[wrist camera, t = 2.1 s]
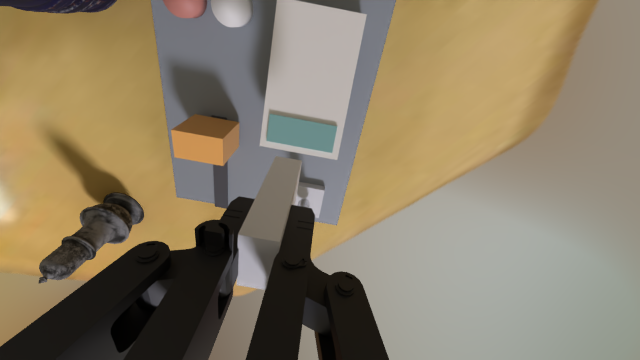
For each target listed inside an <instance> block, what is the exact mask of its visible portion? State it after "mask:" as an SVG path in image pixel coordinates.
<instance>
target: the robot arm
mask: <svg viewBox="0 0 640 360" xmlns="http://www.w3.org/2000/svg"><path fill="white" fill-rule="evenodd" d="M301 164H302V161H301V160H295V159H290V158H284V157H279V156H276V157H275V159H274V161H273V163H272V165H271V167H270V169H269V171H268V173H267V175H266V177H265V179H264V181H263V184H262V186H261V188H260V190H259V192H258V194H257V196H256V198H255V199H252V198H246V197H241V196H239V197H237V198H236V199H234V200H233V201H231V202H230V204H229V206H228V207H227V210H226V211H225V212H224V214H223V216H222V217H221V219H220V220H210V221H205V222H203V223H201V224H199V225H198V226H197V227H196V228H195V238H196V247H194V248H191V249H185V250H173V251H170V249H169V247H168V245H166V244H165V243H163V242H159V241H149V242H145V243H142V244H139V245H137V246H135V247H134V248H132V249H130V250H129V251H128V252H126V253H125V254H124V255H122V256H121V257H120V258H118V259H117V260H116V261H114V262H113V263H112V264H110V265H109V266H108V267H106V268H105V269H104V270H102V271H101V272H100V273H98V274H97V275H96V276H94V277H93V278H92V279H90V280H89V281H88V282H87V283H85V284H84V285H82V286H81V287H80V288H78V289H77V290H76V291H74V292H73V293H72V294H70V295H69V296H68V297H66V298H65V299H64V300H62V301H61V302H59V303H58V304H57V305H56V306H54V307H53V308H51V309H50V310H49V311H48V312H46V313H45V314H43V315H42V316H41V317H39V318H38V319H37V320H35V321H34V322H33V323H31V324H30V325H29V326H27V327H26V328H25V329H24V330H22V331H21V332H19V333H18V334H17V335H15V336H14V337H13V338H11V339H10V340H9V341H7V342H6V343H5V344H3V345H2V346H1V347H0V360H208V358H209V356H210V353H211V351H212V348H213V346H214V343H215V340H216V338H217V335H218V333H219V330H220V327H221V325H222V322H223V320H224V317H225V315H226V312H227V310H228V307H229V304H230V302H231V299H232V295H233V286H234V284H235V281H236V279H237V285H240V286H246V287H252V288H258V289H264V290H265V293H264V297H263V300H262V304H261V308H260V311H259V315H258V318H257V322H256V325H255V329H254V332H253V336H252V340H251V343H250V346H249V350H248V353H247V357H246V360H298V352H299V345H300V337H301V330H302V324H303V325H305V326H307V327H309V328H310V329H312V330H314V331H315V338H316V345H317V351H318V358H319V360H389V358H388V355H387V353H386V350H385V347H384V344H383V341H382V339H381V336H380V333H379V330H378V327H377V324H376V321H375V319H374V316H373V313H372V310H371V308H370V305H369V302H368V299H367V296H366V293H365V290H364V288H363V285H362V284H361V282H360V280H359V279H357V278H356V277H355V276H354V275H352V274H350V273H347V272H336V273H333V274H332V275H328V274H326V273H324V272H322V271H321V270H319V269H318V268H317V267H315V266H314V264H313V263H312V261H311V258H310V252H311V244H312V236H313V229H314V221H315V214H314V212H313V210H312V208H307V207H302V206H296V205H295V202H296V197H297V190H298V184H299V177H300V171H301Z"/></svg>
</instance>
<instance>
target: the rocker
mask: <svg viewBox="0 0 640 360" xmlns="http://www.w3.org/2000/svg"><path fill="white" fill-rule="evenodd" d="M366 16H367V14H362V13H357V12H352V11H347V10H342V9H337V8H332V7H327V6H322V5H317V4H312V3H307V2H302V1H297V0H277V4H276V12H275V21H274V29H273V38H272V46H271V54H270V63H269V71H268V79H267V88H266V96H265V104H264V113H263V121H262V130H261V138H260V146H263V147H268V148H274V149H279V150H285V151H290V152H296V153H301V154H306V155H312V156H317V157H323V158H328V159H334V160H337V159H338V154H339V149H340V144H341V139H342V134H343V129H344V125H345V120H346V115H347V110H348V105H349V100H350V95H351V90H352V85H353V80H354V75H355V70H356V66H357V61H358V56H359V51H360V46H361V41H362V36H363V31H364V26H365V21H366Z"/></svg>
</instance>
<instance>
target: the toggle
mask: <svg viewBox="0 0 640 360" xmlns="http://www.w3.org/2000/svg"><path fill="white" fill-rule="evenodd" d="M297 206H302V207H307V208H310V202H309V201H308V200H307V199H301V200H299V202H298V205H297Z"/></svg>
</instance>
